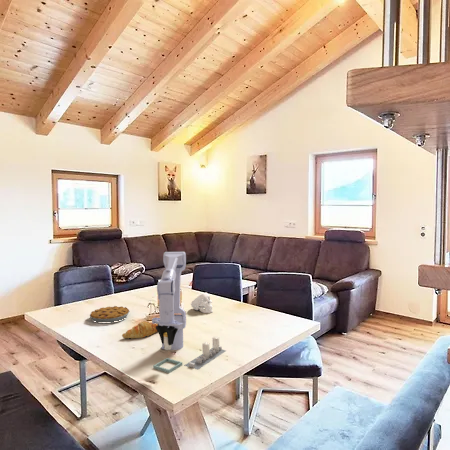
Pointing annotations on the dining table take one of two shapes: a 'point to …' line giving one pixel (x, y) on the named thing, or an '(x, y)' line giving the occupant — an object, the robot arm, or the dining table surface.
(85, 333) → the dining table surface
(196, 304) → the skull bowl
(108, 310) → the pie
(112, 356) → the dining table surface
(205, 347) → the fuse middle
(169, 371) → the tray
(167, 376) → the dining table surface
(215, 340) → the fuse far
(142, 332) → the croissant
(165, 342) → the cylinder
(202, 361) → the fuse panel
